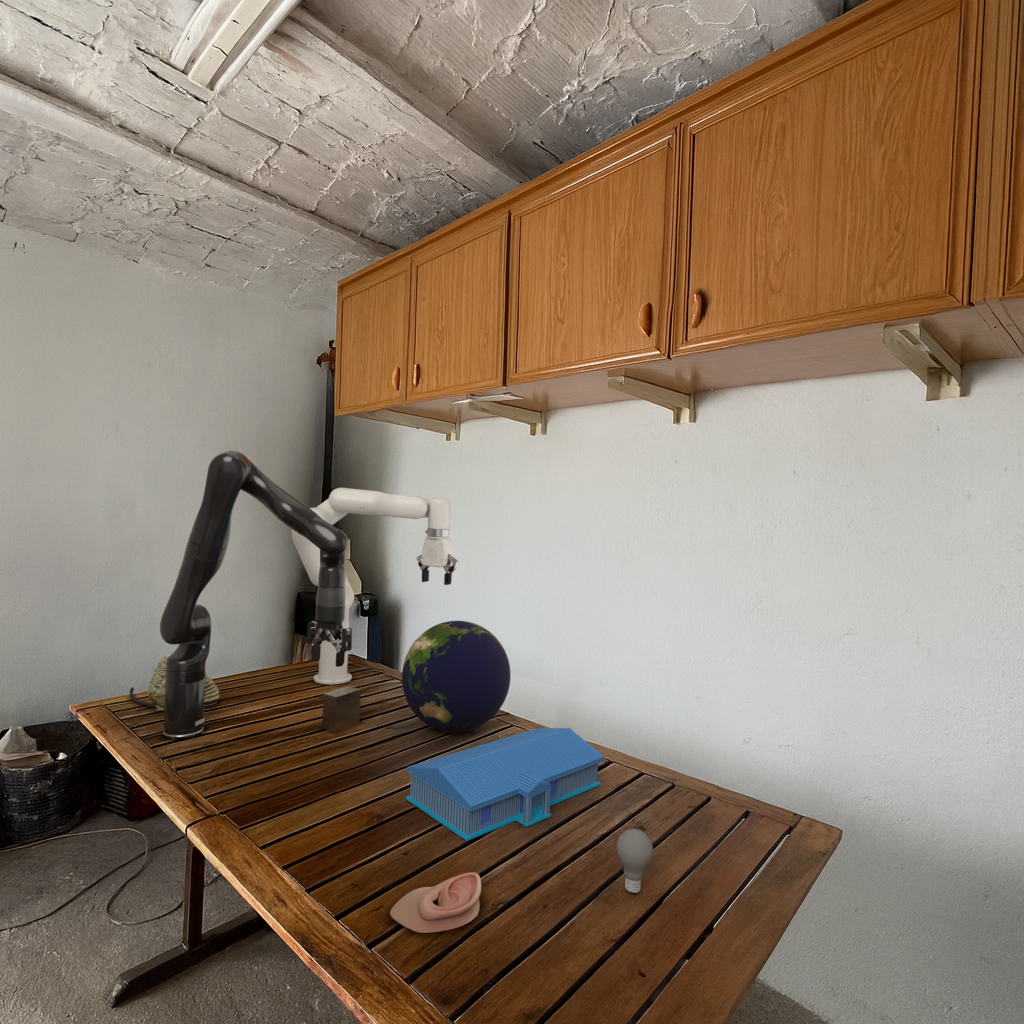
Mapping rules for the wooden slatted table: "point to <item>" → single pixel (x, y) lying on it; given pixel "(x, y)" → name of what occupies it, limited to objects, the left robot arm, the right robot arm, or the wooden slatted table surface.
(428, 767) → the model building
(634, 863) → the light bulb
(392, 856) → the wooden slatted table surface
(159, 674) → the fossil
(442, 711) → the globe
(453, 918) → the anatomical model
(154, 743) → the wooden slatted table surface
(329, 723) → the block
